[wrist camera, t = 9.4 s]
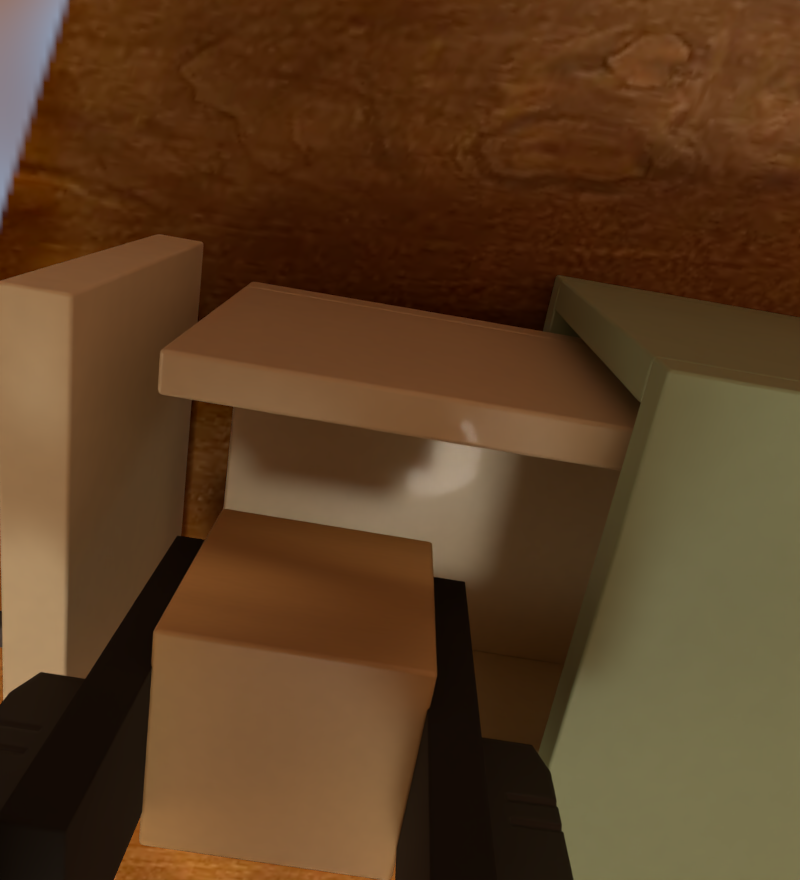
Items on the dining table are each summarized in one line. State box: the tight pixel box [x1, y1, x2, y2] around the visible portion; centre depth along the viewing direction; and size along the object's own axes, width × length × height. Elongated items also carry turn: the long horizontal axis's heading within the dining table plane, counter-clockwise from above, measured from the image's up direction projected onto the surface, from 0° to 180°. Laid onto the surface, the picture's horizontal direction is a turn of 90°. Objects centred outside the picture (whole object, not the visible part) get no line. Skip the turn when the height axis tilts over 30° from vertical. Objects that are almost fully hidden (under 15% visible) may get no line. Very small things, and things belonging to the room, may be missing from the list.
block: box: [139, 509, 437, 880], centre depth 13 cm, size 4×4×4 cm
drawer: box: [0, 234, 641, 817], centre depth 18 cm, size 19×11×8 cm, turn 80°
